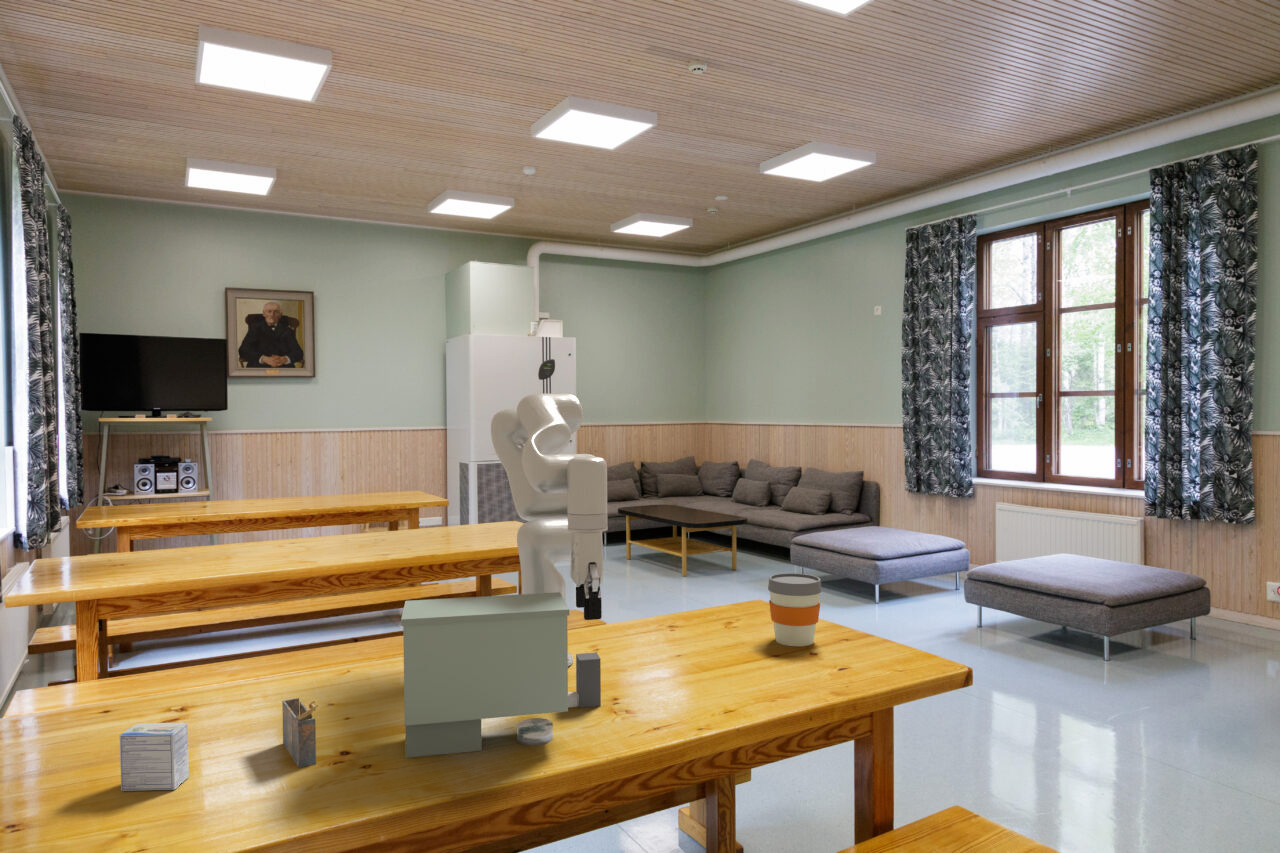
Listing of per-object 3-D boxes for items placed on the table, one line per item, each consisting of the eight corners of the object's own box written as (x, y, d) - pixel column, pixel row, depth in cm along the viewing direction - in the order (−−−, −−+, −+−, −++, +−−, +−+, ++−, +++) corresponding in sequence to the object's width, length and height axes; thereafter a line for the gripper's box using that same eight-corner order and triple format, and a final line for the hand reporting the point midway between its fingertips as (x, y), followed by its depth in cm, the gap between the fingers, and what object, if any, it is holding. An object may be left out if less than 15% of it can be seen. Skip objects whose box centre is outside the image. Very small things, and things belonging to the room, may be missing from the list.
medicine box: (190, 777, 126) (189, 721, 126) (174, 791, 121) (173, 733, 121) (137, 778, 126) (136, 722, 125) (119, 792, 121) (118, 734, 121)
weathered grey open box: (319, 765, 131) (318, 705, 131) (298, 770, 129) (297, 709, 129) (302, 741, 140) (301, 685, 140) (283, 746, 138) (282, 688, 138)
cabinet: (407, 733, 143) (405, 600, 142) (560, 719, 148) (559, 592, 148) (402, 764, 130) (401, 619, 130) (570, 747, 136) (569, 609, 136)
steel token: (515, 734, 142) (515, 719, 142) (550, 731, 144) (550, 716, 144) (518, 748, 137) (518, 733, 136) (554, 744, 138) (554, 730, 138)
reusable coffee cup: (780, 650, 189) (781, 585, 189) (759, 635, 201) (759, 574, 201) (830, 646, 192) (831, 582, 192) (807, 631, 204) (807, 571, 204)
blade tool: (502, 706, 155) (501, 659, 154) (597, 698, 159) (596, 652, 158) (503, 714, 151) (503, 665, 151) (600, 706, 155) (600, 658, 155)
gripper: (561, 517, 163) (562, 603, 163) (574, 529, 146) (575, 625, 146) (599, 516, 165) (599, 601, 165) (616, 527, 148) (616, 623, 148)
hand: (588, 612), depth 156 cm, fingers open, 9 cm apart
